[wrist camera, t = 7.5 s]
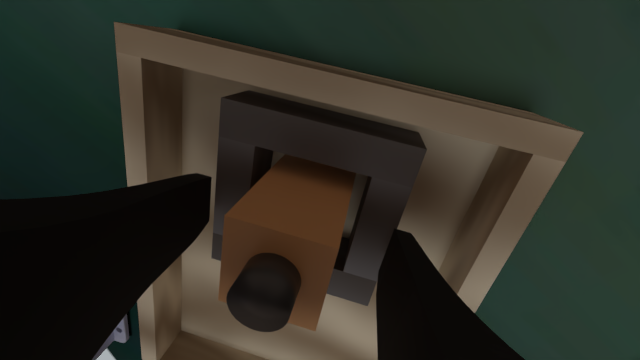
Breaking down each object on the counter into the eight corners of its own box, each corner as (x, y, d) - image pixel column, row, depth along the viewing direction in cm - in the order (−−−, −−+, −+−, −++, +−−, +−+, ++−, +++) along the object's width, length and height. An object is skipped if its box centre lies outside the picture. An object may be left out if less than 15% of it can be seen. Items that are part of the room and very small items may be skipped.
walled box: (387, 394, 21) (388, 456, 17) (177, 323, 22) (142, 369, 19) (531, 112, 12) (583, 132, 9) (176, 29, 14) (113, 21, 10)
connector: (339, 231, 15) (306, 367, 8) (276, 213, 15) (197, 330, 9) (356, 171, 14) (332, 278, 7) (286, 152, 14) (201, 239, 7)
